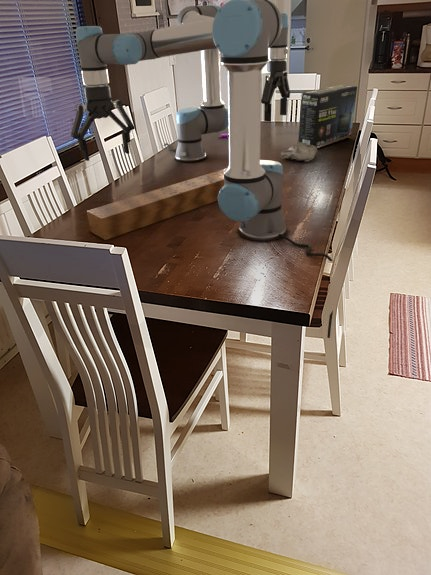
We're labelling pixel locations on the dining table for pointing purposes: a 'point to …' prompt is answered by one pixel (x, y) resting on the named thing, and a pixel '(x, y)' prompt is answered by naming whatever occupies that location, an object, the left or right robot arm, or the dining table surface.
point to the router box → (326, 114)
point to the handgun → (224, 134)
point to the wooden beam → (154, 205)
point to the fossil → (300, 152)
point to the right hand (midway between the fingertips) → (107, 156)
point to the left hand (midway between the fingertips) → (275, 118)
